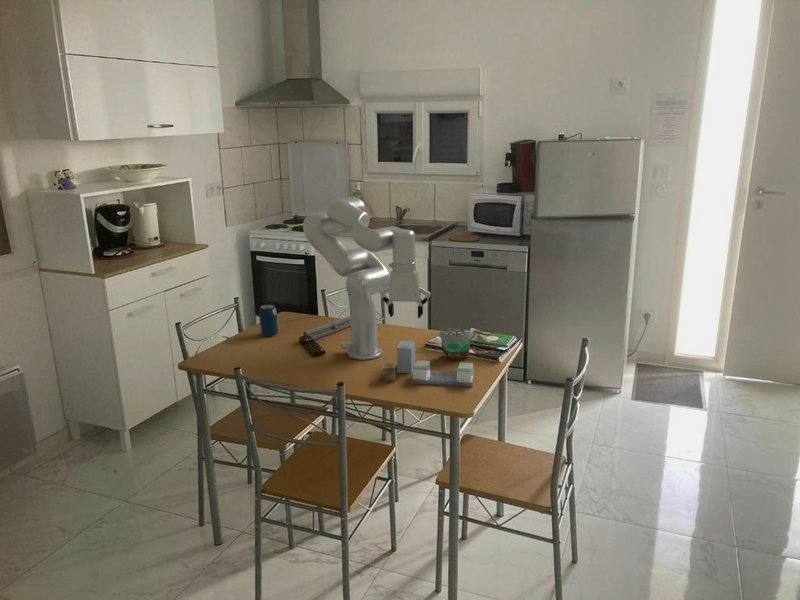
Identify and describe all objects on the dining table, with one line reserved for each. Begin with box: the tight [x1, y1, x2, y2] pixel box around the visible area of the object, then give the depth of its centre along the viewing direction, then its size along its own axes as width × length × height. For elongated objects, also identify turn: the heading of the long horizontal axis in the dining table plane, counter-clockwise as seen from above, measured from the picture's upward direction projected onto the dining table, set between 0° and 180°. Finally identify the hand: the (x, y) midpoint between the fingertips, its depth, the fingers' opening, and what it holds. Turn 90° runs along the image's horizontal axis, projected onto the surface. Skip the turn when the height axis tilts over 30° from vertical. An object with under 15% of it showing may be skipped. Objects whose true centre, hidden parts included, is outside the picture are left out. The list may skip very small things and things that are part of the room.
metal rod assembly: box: [303, 316, 351, 341], centre depth 264 cm, size 26×3×5 cm, turn 140°
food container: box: [438, 329, 474, 362], centre depth 234 cm, size 12×6×10 cm, turn 88°
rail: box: [410, 360, 476, 388], centre depth 216 cm, size 20×8×5 cm, turn 79°
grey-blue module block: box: [396, 340, 416, 374], centre depth 226 cm, size 5×7×9 cm
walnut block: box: [381, 363, 396, 383], centre depth 218 cm, size 4×4×5 cm
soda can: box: [258, 304, 279, 337], centre depth 264 cm, size 7×7×12 cm
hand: (405, 316), depth 222 cm, fingers open, 9 cm apart
